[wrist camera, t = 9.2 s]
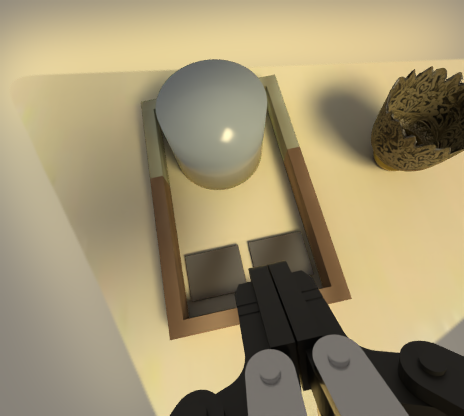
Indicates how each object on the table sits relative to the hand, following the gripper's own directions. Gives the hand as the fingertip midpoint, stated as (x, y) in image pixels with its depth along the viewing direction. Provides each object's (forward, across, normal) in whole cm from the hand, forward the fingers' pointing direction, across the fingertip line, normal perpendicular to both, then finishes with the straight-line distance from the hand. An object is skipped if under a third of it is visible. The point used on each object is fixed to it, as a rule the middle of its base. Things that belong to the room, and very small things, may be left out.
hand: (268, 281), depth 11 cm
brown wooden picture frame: (+16, 0, +3) cm, 17 cm away
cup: (+17, -16, +3) cm, 24 cm away
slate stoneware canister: (+20, 0, -1) cm, 20 cm away
